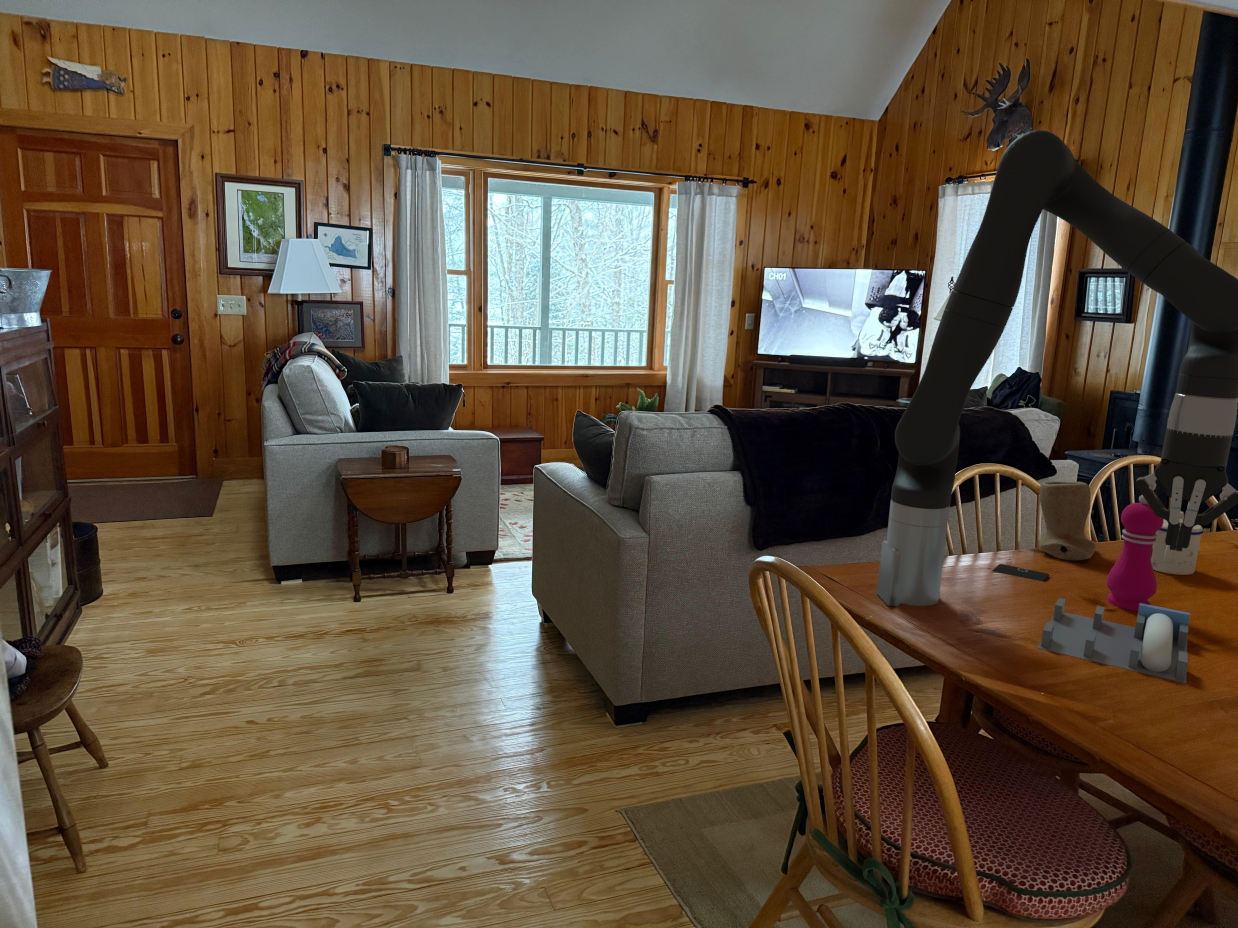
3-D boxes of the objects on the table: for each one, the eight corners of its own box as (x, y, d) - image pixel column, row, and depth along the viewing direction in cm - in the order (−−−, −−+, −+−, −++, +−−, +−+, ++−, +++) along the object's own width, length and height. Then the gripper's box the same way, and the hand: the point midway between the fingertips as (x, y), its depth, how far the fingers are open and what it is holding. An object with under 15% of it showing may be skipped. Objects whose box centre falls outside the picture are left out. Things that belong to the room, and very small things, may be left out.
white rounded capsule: (1171, 673, 113) (1170, 648, 113) (1140, 670, 115) (1140, 645, 115) (1173, 636, 126) (1173, 614, 126) (1146, 634, 128) (1145, 612, 128)
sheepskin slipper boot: (1037, 538, 183) (1046, 472, 180) (1098, 549, 176) (1109, 480, 173) (1023, 554, 171) (1033, 483, 168) (1089, 566, 164) (1100, 492, 161)
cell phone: (1049, 578, 157) (1049, 573, 157) (1026, 603, 143) (1026, 598, 143) (999, 567, 163) (1000, 563, 162) (972, 590, 149) (973, 585, 148)
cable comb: (1185, 689, 111) (1191, 654, 110) (1036, 654, 121) (1041, 621, 120) (1186, 644, 127) (1191, 613, 126) (1054, 616, 137) (1059, 587, 136)
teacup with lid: (1143, 558, 171) (1153, 503, 169) (1197, 568, 166) (1207, 511, 163) (1136, 572, 162) (1146, 514, 159) (1193, 583, 156) (1203, 523, 154)
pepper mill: (1159, 619, 137) (1180, 501, 133) (1111, 614, 138) (1130, 497, 134) (1142, 603, 144) (1161, 491, 140) (1096, 599, 145) (1114, 487, 141)
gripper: (1141, 425, 115) (1119, 545, 118) (1261, 438, 107) (1234, 566, 111) (1144, 419, 121) (1123, 534, 124) (1258, 432, 113) (1232, 553, 117)
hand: (1175, 549), depth 118 cm, fingers closed
